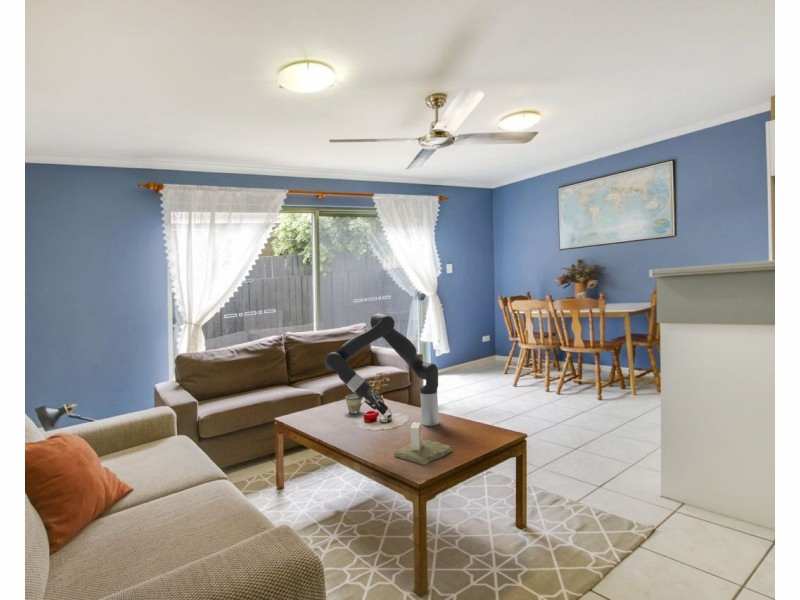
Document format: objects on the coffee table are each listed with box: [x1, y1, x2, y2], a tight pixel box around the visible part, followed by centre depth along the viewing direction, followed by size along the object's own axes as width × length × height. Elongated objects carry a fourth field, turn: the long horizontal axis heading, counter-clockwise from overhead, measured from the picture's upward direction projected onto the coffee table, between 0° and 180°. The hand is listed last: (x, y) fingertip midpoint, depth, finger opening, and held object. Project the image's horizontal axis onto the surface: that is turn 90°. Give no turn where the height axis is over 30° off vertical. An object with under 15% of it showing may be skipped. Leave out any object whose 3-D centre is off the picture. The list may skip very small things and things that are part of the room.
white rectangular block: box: [409, 421, 423, 450], centre depth 199 cm, size 8×4×10 cm, turn 170°
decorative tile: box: [393, 438, 453, 466], centre depth 198 cm, size 19×20×4 cm
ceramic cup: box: [345, 393, 366, 414], centre depth 270 cm, size 13×10×10 cm
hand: (385, 411), depth 201 cm, fingers open, 5 cm apart
